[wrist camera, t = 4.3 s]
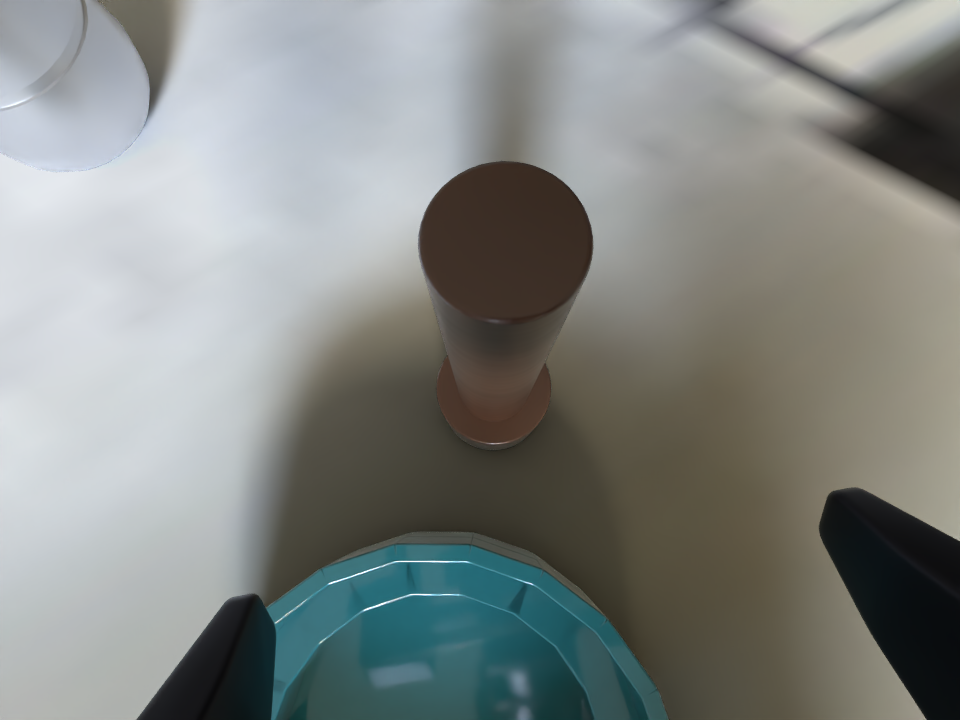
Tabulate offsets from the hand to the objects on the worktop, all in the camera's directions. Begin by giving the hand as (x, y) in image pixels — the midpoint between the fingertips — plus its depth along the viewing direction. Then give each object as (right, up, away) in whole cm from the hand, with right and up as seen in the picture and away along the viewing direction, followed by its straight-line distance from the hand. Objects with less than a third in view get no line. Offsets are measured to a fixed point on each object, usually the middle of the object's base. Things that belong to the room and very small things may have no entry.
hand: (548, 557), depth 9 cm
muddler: (-1, +2, +12) cm, 12 cm away
